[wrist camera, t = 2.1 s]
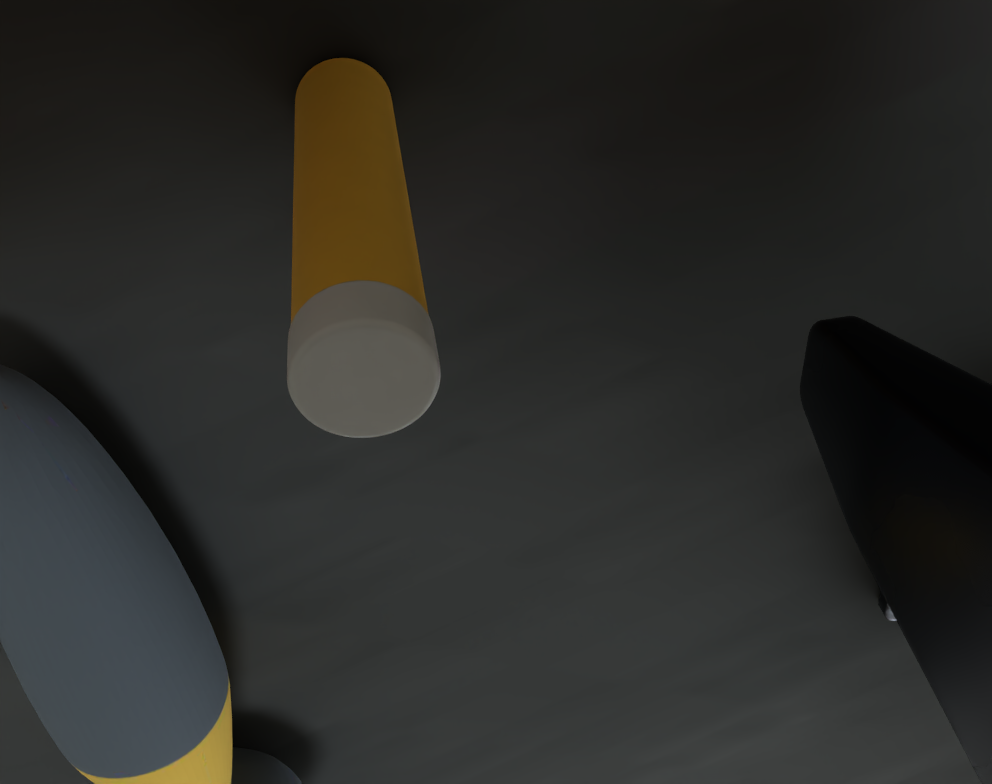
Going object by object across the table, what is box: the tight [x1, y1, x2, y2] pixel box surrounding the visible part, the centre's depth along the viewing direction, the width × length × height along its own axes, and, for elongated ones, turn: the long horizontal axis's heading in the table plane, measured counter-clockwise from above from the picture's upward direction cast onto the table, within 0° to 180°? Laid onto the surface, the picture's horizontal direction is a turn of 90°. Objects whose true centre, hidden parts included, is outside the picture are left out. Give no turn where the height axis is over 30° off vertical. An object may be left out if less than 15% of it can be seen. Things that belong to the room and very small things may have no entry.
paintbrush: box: [0, 365, 302, 784], centre depth 21 cm, size 20×5×5 cm, turn 9°
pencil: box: [287, 58, 441, 438], centre depth 12 cm, size 2×2×7 cm
